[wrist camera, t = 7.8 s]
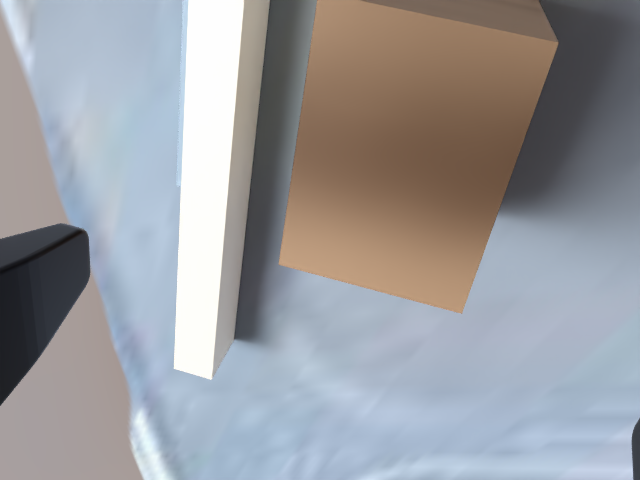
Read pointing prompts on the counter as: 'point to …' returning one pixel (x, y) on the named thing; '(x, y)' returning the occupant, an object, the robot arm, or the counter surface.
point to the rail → (215, 170)
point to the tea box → (411, 139)
